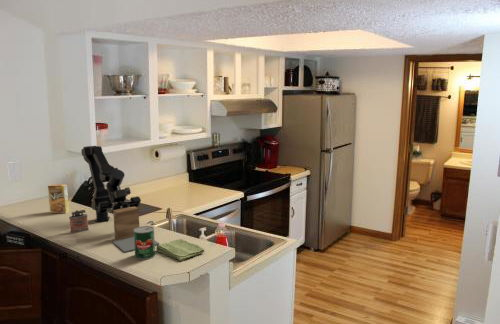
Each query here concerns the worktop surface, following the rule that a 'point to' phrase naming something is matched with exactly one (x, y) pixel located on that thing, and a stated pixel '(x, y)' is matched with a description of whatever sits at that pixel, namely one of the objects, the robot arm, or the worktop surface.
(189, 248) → the washcloth
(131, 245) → the mat
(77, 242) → the worktop surface
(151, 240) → the canned tomato
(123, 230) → the walnut slab
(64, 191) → the candy box
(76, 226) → the red patterned tin
